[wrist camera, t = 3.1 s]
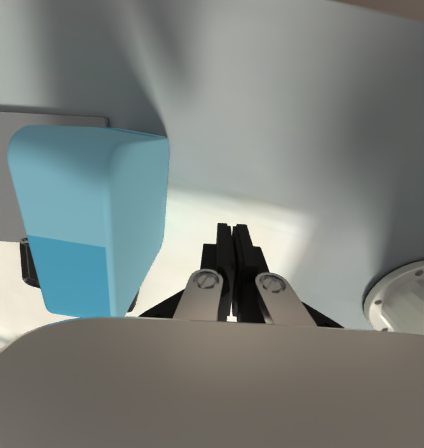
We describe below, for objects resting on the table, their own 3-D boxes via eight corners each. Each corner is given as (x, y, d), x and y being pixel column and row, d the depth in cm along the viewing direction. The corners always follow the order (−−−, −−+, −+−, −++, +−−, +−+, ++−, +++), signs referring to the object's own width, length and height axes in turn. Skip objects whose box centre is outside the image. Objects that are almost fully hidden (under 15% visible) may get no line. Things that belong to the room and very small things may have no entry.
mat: (107, 117, 19) (104, 117, 18) (127, 246, 24) (124, 249, 24) (-60, 108, 19) (-68, 108, 18) (-1, 238, 25) (-6, 240, 24)
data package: (124, 127, 19) (-8, 122, 8) (171, 136, 19) (104, 141, 8) (126, 237, 24) (47, 324, 13) (163, 243, 24) (116, 334, 13)
